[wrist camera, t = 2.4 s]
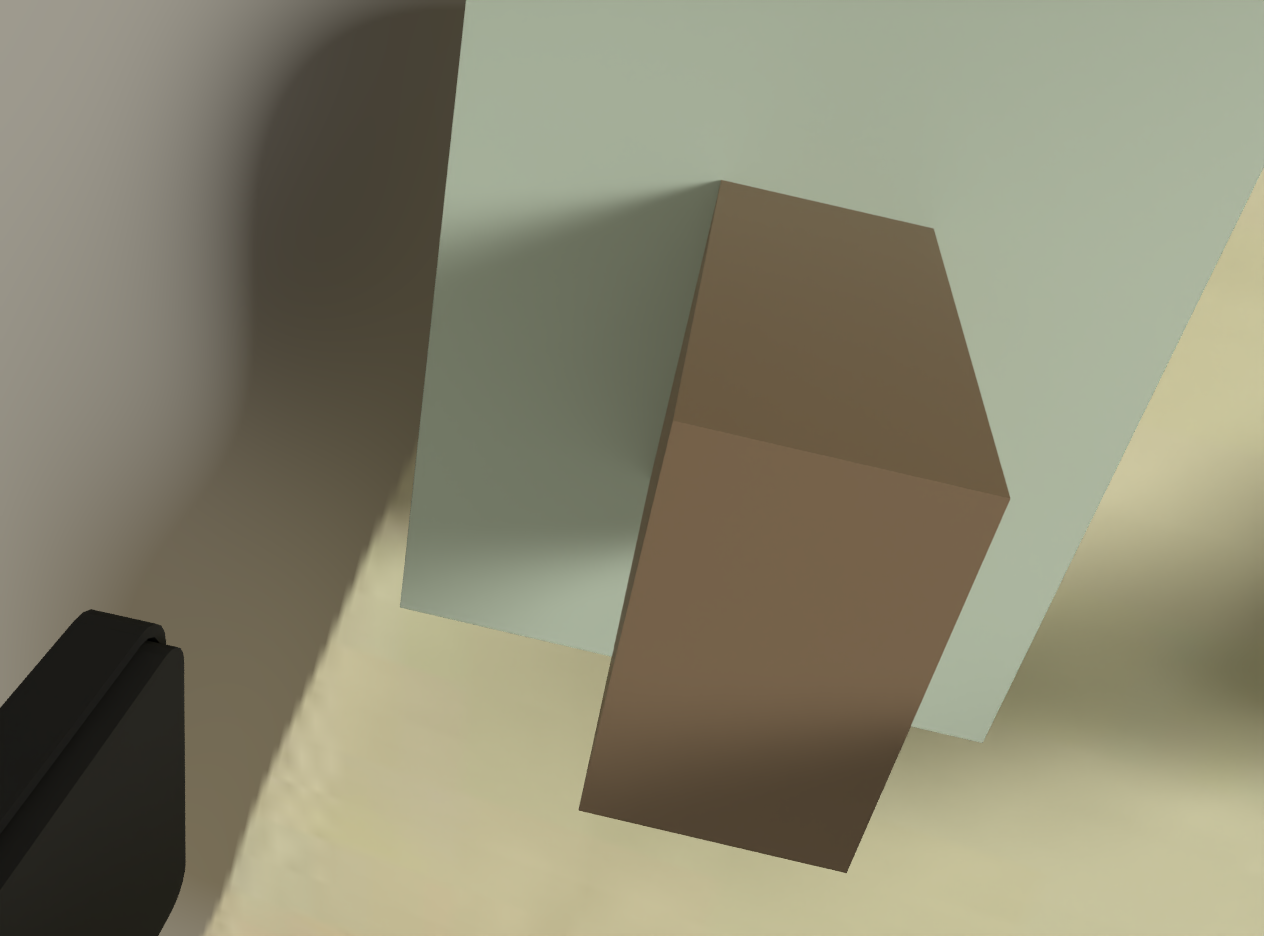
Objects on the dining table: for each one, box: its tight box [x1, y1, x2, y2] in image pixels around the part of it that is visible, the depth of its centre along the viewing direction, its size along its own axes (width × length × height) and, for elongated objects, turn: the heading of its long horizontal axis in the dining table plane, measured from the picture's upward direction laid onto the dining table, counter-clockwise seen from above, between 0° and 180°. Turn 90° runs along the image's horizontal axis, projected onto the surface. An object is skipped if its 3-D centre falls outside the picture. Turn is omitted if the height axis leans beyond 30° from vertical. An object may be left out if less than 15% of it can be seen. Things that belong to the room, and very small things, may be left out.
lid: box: [400, 0, 1264, 873], centre depth 15 cm, size 13×11×8 cm
